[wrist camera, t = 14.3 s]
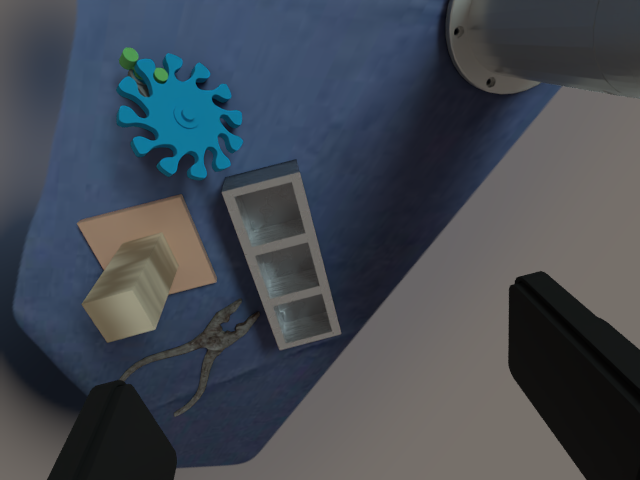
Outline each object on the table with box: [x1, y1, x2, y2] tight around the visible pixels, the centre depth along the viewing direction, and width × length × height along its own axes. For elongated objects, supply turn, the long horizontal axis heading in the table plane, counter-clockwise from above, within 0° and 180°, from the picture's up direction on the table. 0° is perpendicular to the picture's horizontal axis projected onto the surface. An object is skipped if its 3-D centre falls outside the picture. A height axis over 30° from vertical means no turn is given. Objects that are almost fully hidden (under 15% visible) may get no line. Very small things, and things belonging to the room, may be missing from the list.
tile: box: [77, 194, 217, 295], centre depth 40 cm, size 10×10×1 cm
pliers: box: [119, 299, 260, 417], centre depth 47 cm, size 10×1×20 cm
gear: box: [116, 48, 243, 180], centre depth 33 cm, size 11×6×10 cm
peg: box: [82, 232, 179, 343], centre depth 35 cm, size 4×4×10 cm
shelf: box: [222, 159, 341, 350], centre depth 41 cm, size 7×19×4 cm, turn 13°
